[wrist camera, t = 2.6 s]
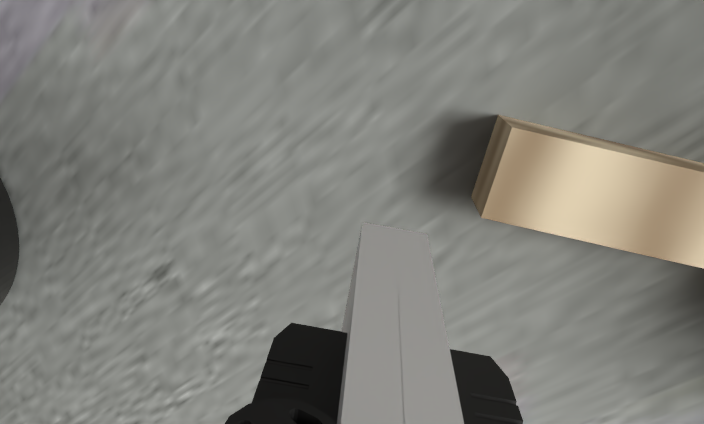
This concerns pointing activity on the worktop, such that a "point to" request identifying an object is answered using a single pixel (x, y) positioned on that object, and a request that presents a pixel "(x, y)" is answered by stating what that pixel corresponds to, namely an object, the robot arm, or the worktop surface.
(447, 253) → the worktop surface
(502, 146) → the slat
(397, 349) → the robot arm
